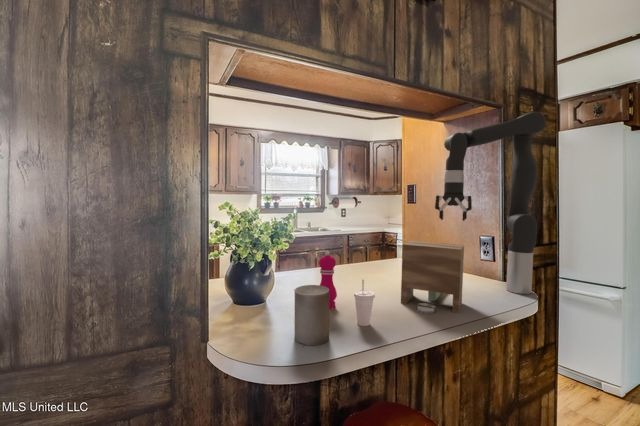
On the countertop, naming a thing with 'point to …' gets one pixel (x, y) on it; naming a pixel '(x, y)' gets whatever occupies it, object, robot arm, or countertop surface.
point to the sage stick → (433, 295)
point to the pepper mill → (328, 276)
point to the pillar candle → (311, 314)
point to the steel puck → (426, 308)
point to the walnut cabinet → (432, 270)
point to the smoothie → (363, 305)
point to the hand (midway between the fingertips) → (452, 220)
